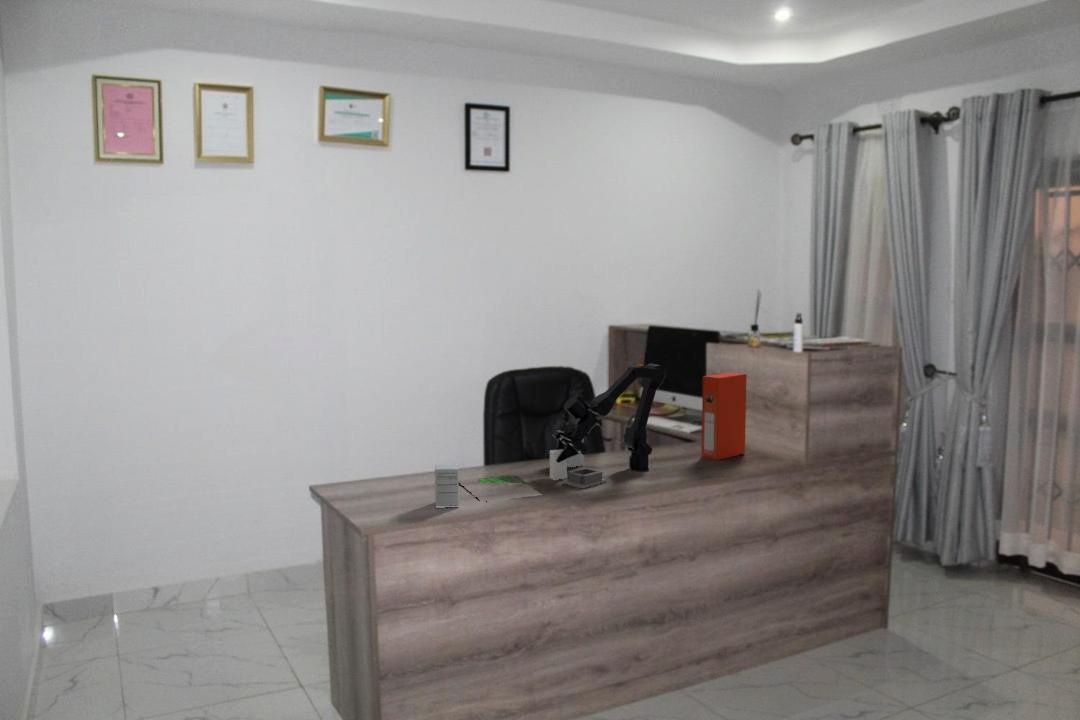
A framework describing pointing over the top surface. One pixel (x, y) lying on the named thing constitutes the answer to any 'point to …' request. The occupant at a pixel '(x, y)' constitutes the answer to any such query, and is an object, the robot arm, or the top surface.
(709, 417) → the file binder
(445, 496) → the grey drawer cabinet
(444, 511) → the top surface
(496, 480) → the mouse mat
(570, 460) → the small box
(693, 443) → the top surface
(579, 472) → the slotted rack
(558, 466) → the plain light grey box
